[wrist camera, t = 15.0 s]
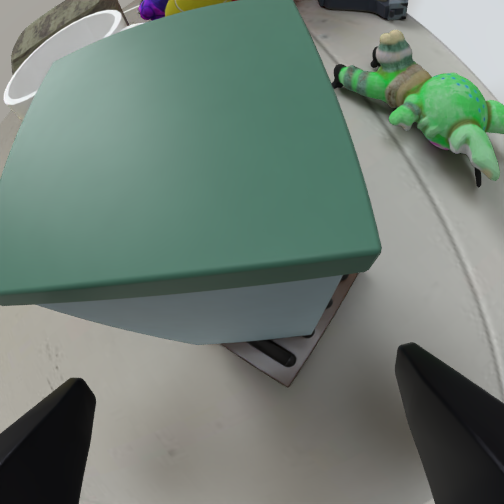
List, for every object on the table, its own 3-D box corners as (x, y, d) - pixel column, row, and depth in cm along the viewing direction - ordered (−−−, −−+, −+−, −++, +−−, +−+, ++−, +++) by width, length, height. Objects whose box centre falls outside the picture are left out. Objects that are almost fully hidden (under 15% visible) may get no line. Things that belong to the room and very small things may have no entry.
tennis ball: (210, 60, 28) (232, 29, 30) (225, 9, 21) (248, -16, 24) (151, 42, 27) (179, 13, 29) (156, -8, 20) (188, -32, 22)
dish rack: (360, 267, 18) (366, 258, 16) (288, 386, 16) (287, 389, 15) (224, 193, 21) (217, 179, 19) (153, 293, 19) (140, 286, 18)
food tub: (316, 338, 15) (384, 252, 3) (192, 348, 16) (-26, 296, 4) (300, 221, 18) (290, -7, 5) (189, 236, 18) (52, 61, 6)
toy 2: (319, 112, 24) (470, 222, 17) (308, 36, 18) (511, 144, 11) (389, 71, 25) (518, 154, 18) (390, 8, 19) (546, 88, 12)
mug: (58, 189, 23) (-17, 121, 14) (91, 106, 27) (42, 36, 17) (187, 174, 22) (125, 63, 12) (206, 83, 25) (173, -13, 15)
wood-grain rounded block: (153, 72, 27) (121, 10, 36) (121, 5, 19) (102, -30, 27) (39, 143, 27) (46, 55, 35) (-9, 94, 18) (21, 20, 27)
